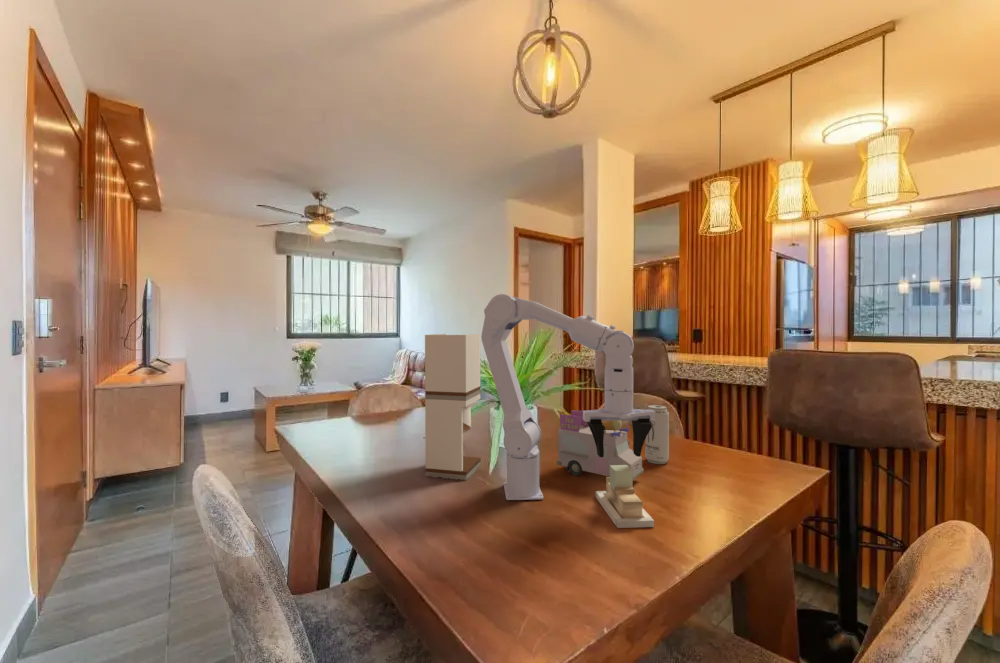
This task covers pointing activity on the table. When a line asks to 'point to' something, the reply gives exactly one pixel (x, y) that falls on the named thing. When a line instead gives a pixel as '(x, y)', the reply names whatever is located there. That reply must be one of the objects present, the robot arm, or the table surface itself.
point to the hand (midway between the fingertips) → (618, 455)
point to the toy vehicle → (594, 447)
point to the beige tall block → (450, 402)
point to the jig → (623, 522)
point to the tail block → (621, 476)
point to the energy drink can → (658, 436)
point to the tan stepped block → (624, 501)
